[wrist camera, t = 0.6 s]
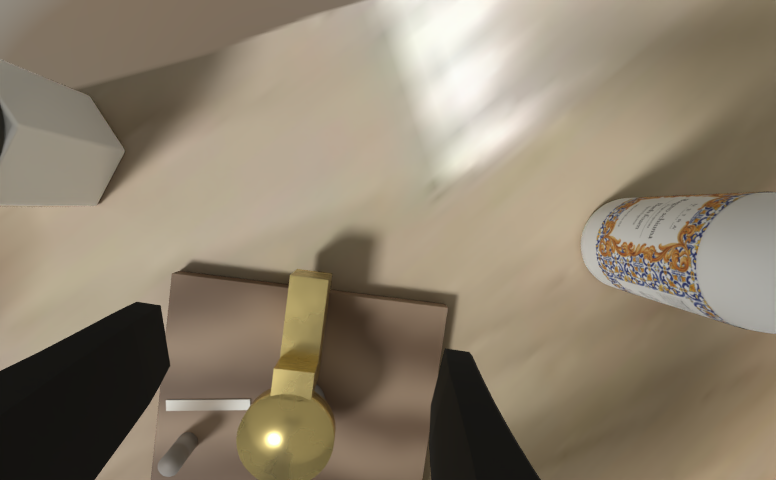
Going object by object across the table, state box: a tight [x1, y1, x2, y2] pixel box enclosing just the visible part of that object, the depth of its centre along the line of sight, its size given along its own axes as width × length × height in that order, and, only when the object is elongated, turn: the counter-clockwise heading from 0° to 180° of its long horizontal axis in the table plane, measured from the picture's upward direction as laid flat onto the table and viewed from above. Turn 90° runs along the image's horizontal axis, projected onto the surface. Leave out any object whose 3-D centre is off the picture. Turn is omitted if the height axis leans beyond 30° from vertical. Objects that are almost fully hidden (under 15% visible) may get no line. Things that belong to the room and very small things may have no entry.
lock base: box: [151, 271, 448, 480], centre depth 30 cm, size 17×20×4 cm
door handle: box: [236, 269, 336, 480], centre depth 28 cm, size 13×6×5 cm, turn 172°
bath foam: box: [581, 192, 776, 334], centre depth 22 cm, size 7×7×20 cm
